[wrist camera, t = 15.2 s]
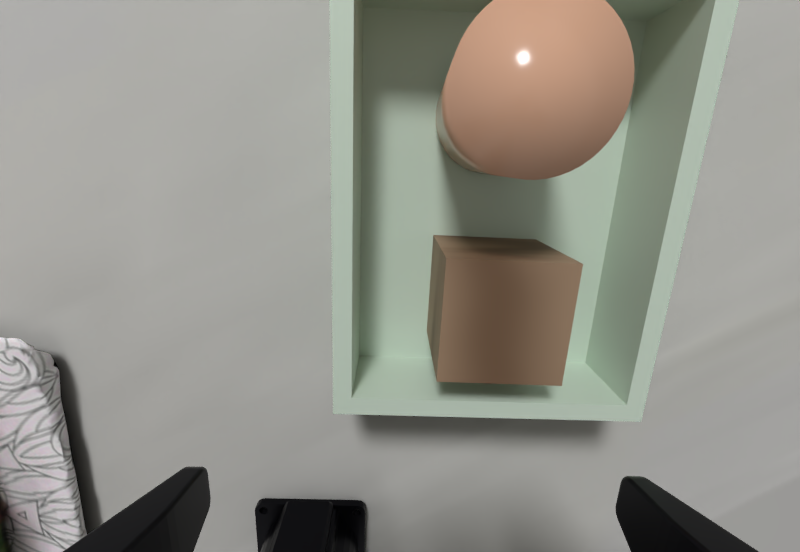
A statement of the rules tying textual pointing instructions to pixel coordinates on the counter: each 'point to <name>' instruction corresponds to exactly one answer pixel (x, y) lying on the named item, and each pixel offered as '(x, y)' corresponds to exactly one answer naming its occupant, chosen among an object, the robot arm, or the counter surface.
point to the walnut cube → (500, 310)
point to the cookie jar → (35, 455)
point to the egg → (535, 87)
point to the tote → (508, 208)
